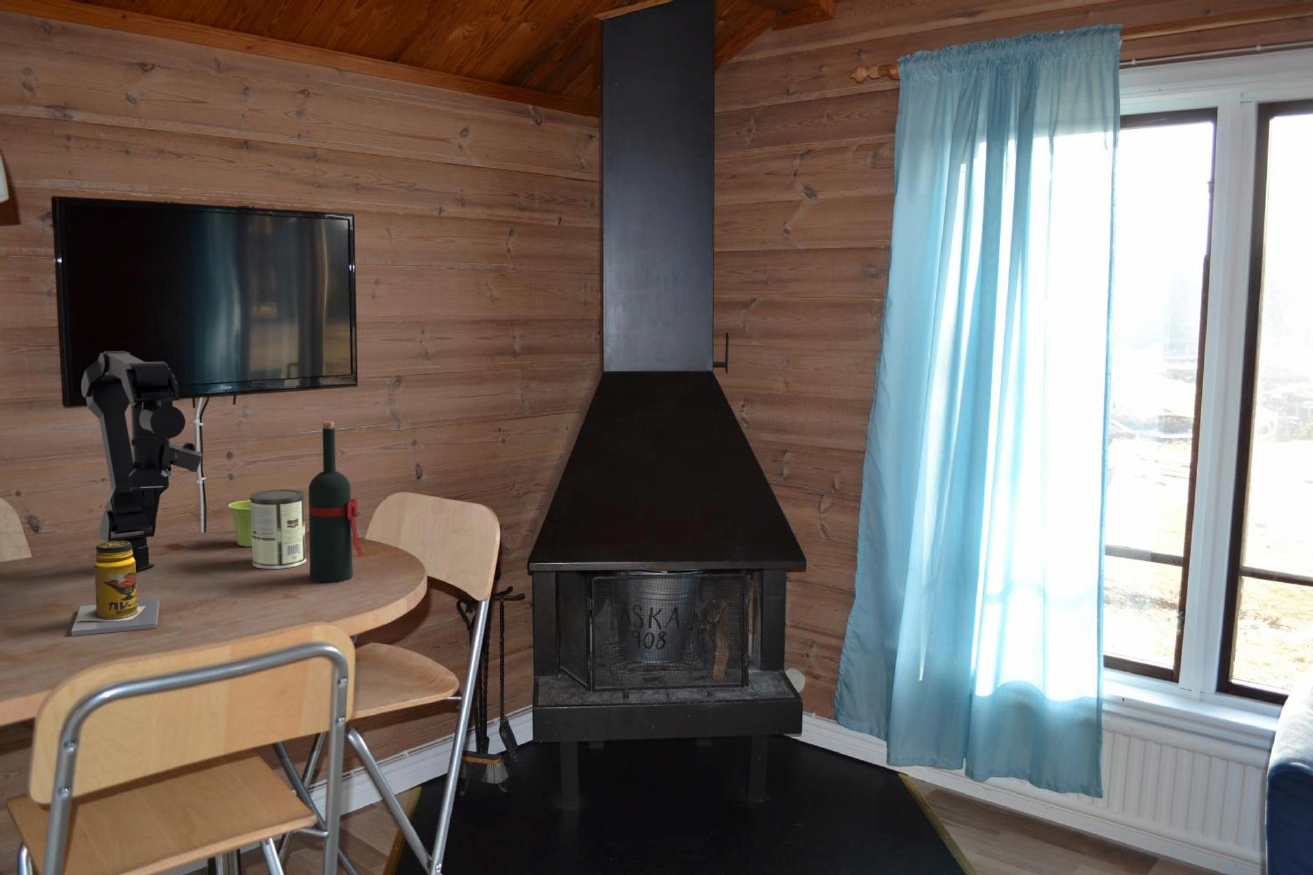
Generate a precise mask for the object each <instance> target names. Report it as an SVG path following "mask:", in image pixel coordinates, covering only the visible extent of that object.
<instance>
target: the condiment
mask: <svg viewBox="0 0 1313 875" xmlns="http://www.w3.org/2000/svg"><path fill="white" fill-rule="evenodd" d="M95 551H96V553H95V561H94V564H93V565H94V568H93V569H94V586H95V587H94V589H95V605H96V607H92V608H91V609H90V610H89V611H88V612H87V613H86V614H85V615H84V616H82V617H81V618H80V619H78V620H77V621H96V620H97V621H121V620H132V619H133V618H134V617H136V616H137V615H138V614H139V613H140V612H141V611H142V610H143V609H144V608H145V607H146V606H138V602H137V601H138V594H137V593H138V592H137V591H138V590H137V588H138V587H137V572H136V563H135V559H134V558H133V557H132V555H133V552H132V544H131V543H130V542H127V541H109V542H106V541H103V542H101V543H98V544H97V545H96V547H95ZM137 606H138V607H137Z"/></svg>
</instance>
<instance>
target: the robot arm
mask: <svg viewBox="0 0 1313 875" xmlns="http://www.w3.org/2000/svg"><path fill="white" fill-rule="evenodd" d="M80 384H81V385H80V388H81V395H82V397H83V398H85V399H86V400H85V401H86V406H87V409H88V410H89V411H90V412H92V414H93V415H95V416H96V417H97V419H98V420H99V424H100V430H101V437H102V438H101V439H102V443H103V448H104V453H105V460H106V466H107V470H108V477H109V483H110V490H111V491H110V494H109V496H108V498H107V500H106V502H105V505H104V510H105V511H103V515H102V518H101V521H100V525H99V528H98V529H99V536H100V539H101V540H102V541H103V542H109V541H127V542H130V543H131V544H132V552H133V555H132V557H133V558H134V559H135V563H136V573H137V572H140V571H143V570H146V569H149V568H152V567H153V568H154V567H155V564H154V563H153V562H150V555H149V545H148V539H147V538H154V537H155V533H156V528H157V527H156V524H157V519H158V518H157V517H158V512H159V507H160V501H161V495H162V494H163V493H164V492H165V491H166V490H168V488H169V487H170V477H171V475H172V469H173V467H172V466H175V467H178V468H181V469H186V470H188V471H189V472H192V473H197V472H198V470H199V467H200V464H201V462H202V458H203V453H202V452H201V451H197V449H196V445H195V444H196V443H193V442H189V441H186V442H185V443H183V444H182V446H180V445H178V444H177V445H176V444H172V443H171V439H173V438H176V437H178V436H179V435H180V434H182V432H183V430H184V429H185V427H186V418H185V415H184V413H183V412H182V410H181V409H179V408H178V407H176V406H174V405H173V402H179V401H180V396H179V395H180V393H181V391H180V390H181V389H180V387H179V384H178V382H177V380H176V378H175V374H173V371H172V369H171V368H170V367H169V365H168V364H167V363H166V361H144V360H141V359H139V358H138V357H136V356H134V355H132V354H131V352H129V351H128V352H127V351H126V350H119V351H118V350H117V351H115V350H114V351H111V350H110V351H108V350H107V351H104V352H100V354H99V356H98V359H97V360H96V361H95V362H93V363H92V364H91V365H90V366H88V367H87V368H85V370H84V373H83V375H82V379H81V383H80ZM129 405H130V419H131V440H130V434H129V430H128V424H127V423H128V422H127V418H126V411H127V409H128V407H129Z"/></svg>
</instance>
